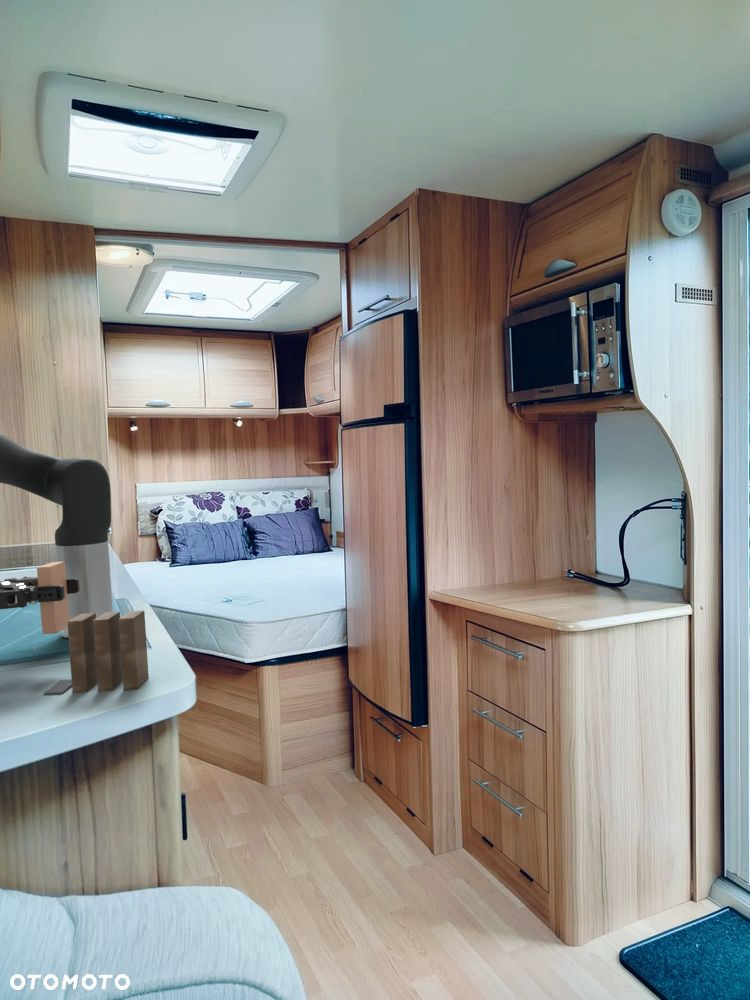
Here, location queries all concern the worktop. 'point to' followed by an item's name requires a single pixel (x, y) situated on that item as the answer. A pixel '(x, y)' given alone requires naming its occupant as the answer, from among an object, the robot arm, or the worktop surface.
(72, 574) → the robot arm
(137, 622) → the walnut domino
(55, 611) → the salmon pink domino
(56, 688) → the pad
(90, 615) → the walnut domino
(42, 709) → the worktop surface
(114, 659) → the walnut domino
